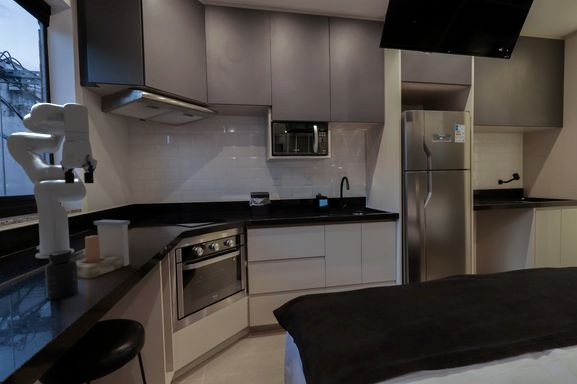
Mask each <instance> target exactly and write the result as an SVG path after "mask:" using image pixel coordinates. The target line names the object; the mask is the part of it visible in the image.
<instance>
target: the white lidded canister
mask: <svg viewBox="0 0 577 384" xmlns="http://www.w3.org/2000/svg"><path fill="white" fill-rule="evenodd" d="M130 223H131V221H130V220H120V219H119V220H118V219H101V220H95V221H93V225H94V226H97V236H99V243H100V255H101V256H112V257H122V267H126V266H129V265H130V255H129V254H130V251H129V232H128V231H129V228H128V226H129V225H130Z"/></svg>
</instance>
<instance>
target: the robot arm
mask: <svg viewBox="0 0 577 384" xmlns="http://www.w3.org/2000/svg"><path fill="white" fill-rule="evenodd" d="M30 109H31V110H30V112H29V113H28V114H26V115H25V116H24V117H23V119H22V125H23V127H24V128H25V129H26V130H27V131H29V132H15V133H11V134H10V135H8V136H7V139H6V147H7V150H8V153H9V154H10V156H11V158H12V159H13V160H14V161H15V162H16V163H17V164H18V165H20V166H21V168H22V170H23V171H24V172H25V174H26V176H27V177H28V179H29V180H30V182H31V184H33V185H34V187H33V194H34V198H35V202H36V206H37V216H38V217H37V218H38V232H39V234H38V235H39V245H37V246H36V250H39V252H38V253H36V254H34V255H35V258H36V259H49V254H50V253H52V252H56V251H62V250H71V253H72V254H74V252H75V249H74V248H71V247H70V235H69V234H70V232H69V231H70V230H69V218H68V217H69V216H68V211H67V209H66V208H65V207H64V206H63V205H62V204H61V203H67V202H69V203H70V202H71V203H72V202H78V201H82V200H83V199H85V198H86V196H87V188H86V185H85V184H94V180H95V179H94V173H95V170H96V168H97V164H98V160H97V159H95V158H93V151H92V146H91V142H90V125H89V124H90V123H89V122H90V121H89V110H88V107H87V106H86V105H83V104H81V103H75V102H73V103H72V102H69V103H65V104H63V105H60V104H54V103H48V102H41V103H37V104H34V105H32V106H31V108H30ZM61 146H62V149H61V150H62V151H61V160H60V162H59V164H57V165H56V164H49V163H48V162H47V161H46V159H45V158H44V157H43V156H41V155H39V154H40V153H41V154H55V153H57V152H58V151H59V150H60V148H61ZM37 153H39V154H37ZM75 169H83V171H84V172H83V178H84V179H83V180H84V182H83V180H82V179H81V177H80V176H79V175H78V173H77V172H76V170H75Z"/></svg>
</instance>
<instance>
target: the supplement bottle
mask: <svg viewBox="0 0 577 384" xmlns="http://www.w3.org/2000/svg"><path fill="white" fill-rule="evenodd" d="M48 261H49V263H48V264H46V265H45V267H44V271H45V274H44V275H45V285H46V296H47V299H49V300H51V301H52V300H53V301H54V300H55V301H56V300H62V299H67V298H70V297H73V296H75V295H76V294H77V293H78V292H79V290H80V289H79V277H78V272H77V262H76V261H77V260H75V259H73V253H71V250H62V251H56V252H52V253H50V254H49V258H48Z"/></svg>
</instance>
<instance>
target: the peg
mask: <svg viewBox="0 0 577 384" xmlns="http://www.w3.org/2000/svg"><path fill="white" fill-rule="evenodd" d="M84 242H85V243H84V244H85V245H84V246H85V258H86V263H89V264H93V263H96V262H99V261H100V243H99V236H98V234H97V235H96V234H95V235H89V236H85V237H84Z"/></svg>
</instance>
